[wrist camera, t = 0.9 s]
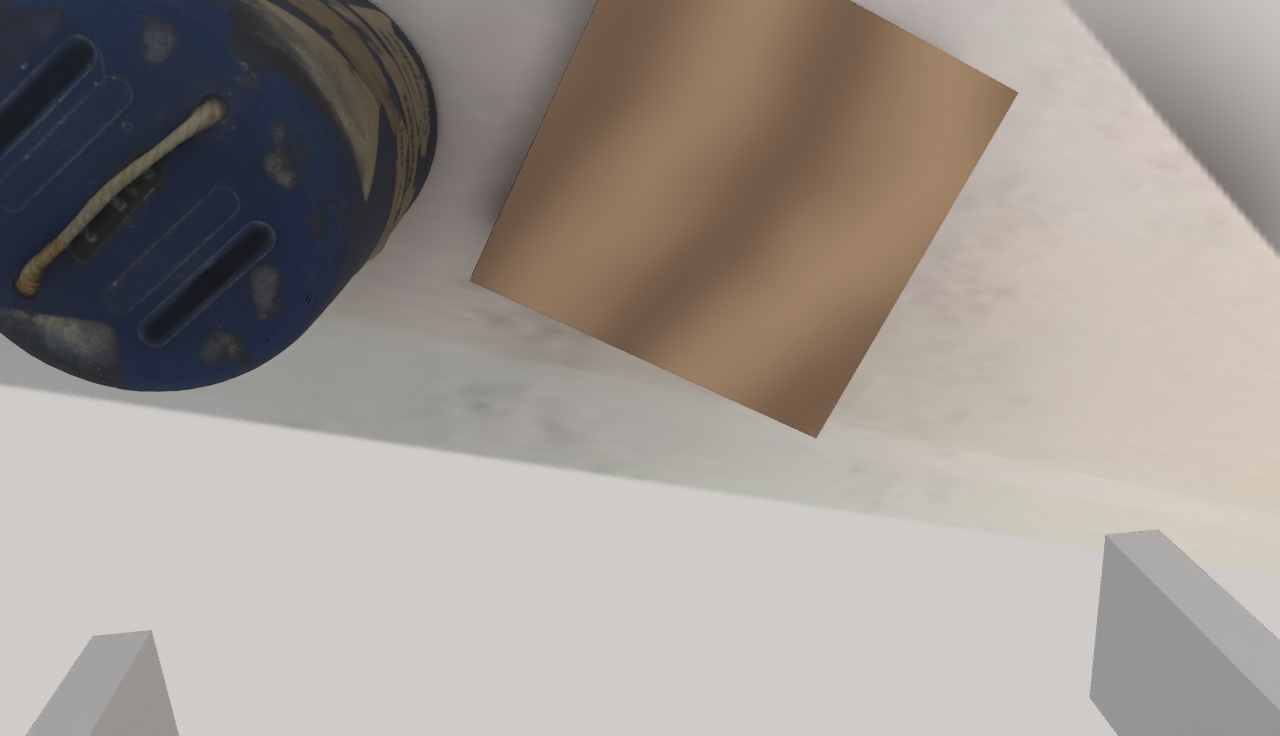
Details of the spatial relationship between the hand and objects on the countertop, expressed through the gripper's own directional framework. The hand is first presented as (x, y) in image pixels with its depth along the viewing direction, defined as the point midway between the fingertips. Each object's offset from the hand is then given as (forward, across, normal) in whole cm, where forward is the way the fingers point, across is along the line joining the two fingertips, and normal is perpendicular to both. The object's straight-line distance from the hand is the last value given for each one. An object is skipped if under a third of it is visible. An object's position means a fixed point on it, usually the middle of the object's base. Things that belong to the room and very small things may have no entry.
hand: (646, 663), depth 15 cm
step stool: (+27, +5, +2) cm, 28 cm away
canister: (+28, -9, +5) cm, 30 cm away
